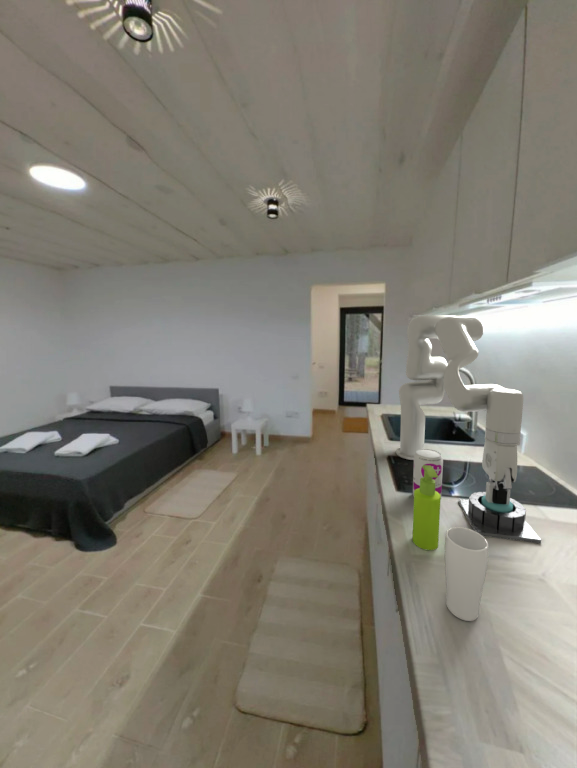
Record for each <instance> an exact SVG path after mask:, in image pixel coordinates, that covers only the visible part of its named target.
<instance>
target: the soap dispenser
mask: <svg viewBox="0 0 577 768" xmlns="http://www.w3.org/2000/svg"><path fill="white" fill-rule="evenodd" d="M422 468H423V469H424V477H423V478H421V479H420V488H418V489H416V490H415V491H414V496H413V513H412V514H413V517H412V518H413V519H412V521H413V522H412V543H413V544H414V546H416V547H418V548H419V549H422V550H426V551H434V550H435V551H436V549H438V547H439V538H440V537H439V536H440V534H439V533H440V515H441V500H442V495H441V496H440V494H439V493H438V492H437V491H435V480H434V479H432V477H433V478H437V477H438V475H437V473H436V472H435V470H434V469H433V468H432V467H431V466H429V465H423V466H422Z"/></svg>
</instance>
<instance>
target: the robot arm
mask: <svg viewBox="0 0 577 768" xmlns="http://www.w3.org/2000/svg"><path fill="white" fill-rule="evenodd" d="M406 330H407V331H406V335H407V342H408V349H407V357H406V358H407V359H406V363H405V364H406V366H405V375H406V377H407V379H409V380H412V381H411V382H409V381H408V382H406V383H402V385H401V386H400V387H399V390H398V395H399V403H400V433H399V435H400V437H399V438H400V439H399V441H400V442H399V443H400V444H399V448H396V451H395V453H396V455H397V456H398V457H399V458H402V459H404V460H405V459H406V460H410V461H414V455H415V453H416V451H417V450H419V449H425V437H426V435H425V433H426V432H425V430H426V414H425V412H424V410H423V409H422V407H421V406H422V405H435V404H439V403H441V402H442V401H443V399H444V396H445V393H446V395H447V398H448V401H449V403H451V405H452V407H453V408H454V409H455V410H457V411H460V412H465V413H466V412H485V411H486V417H485V429H484V432H485V433H484V446H483V453H482V463H481V467H482V469H483V470H484V472H485V474H487V475H488V478H489V479H488V482H495V488H493V495H492V502H493V503H497V504H506V503H507V491H508V489H511V490H512V488H513V487H512V484H515V482H516V481H517V474H518V446H519V445H520V444H521V441H520V440H521V430H522V420H523V410H524V409H523V408H524V393H522V391H520V390H517V389H513V388H506V387H503V386H501V385H499V384H494V383H485V384H479V383H478V384H464V382H463V380H462V377H461V376H460V369H462V368H465V367H467V366H468V365H470V364H472V363H473V362H474V361H475V360H477V358H478V356H479V349H478V348H477V347H476V345H475V343H474V342H476V341H478V340H480V339H481V338H482V337H483V336H484V332H485V326H484V323H483V321H482V320H481V318H479V317H478V316H475V315H465V314H464V315H463V314H462V315H461V314H427V315H419V316H416V317H413V318H412V319H410V321H409V323H408V324H407V328H406ZM430 339H435V340H436V339H437V340H438V342H439V344H440V346H441V348H442V350H443V352H444V355H445V357H443V356H438V355H434V356H433V355H432V352H433V351H432V350H433V345H432V342H431V341H430ZM445 358H447V360H446V359H445ZM447 361H448V362H447ZM499 483H500V484H499Z"/></svg>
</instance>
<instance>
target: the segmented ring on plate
mask: <svg viewBox="0 0 577 768" xmlns="http://www.w3.org/2000/svg"><path fill="white" fill-rule="evenodd" d="M484 495H486V491H478V492H473V493H471V494H470V496H469V498H468V499H464V498H463V499H462V498H458V503H459V505H460V508H461V509H462V511H463V513H464V515H465V517H466V519H467V520H468V522H469V524H470V526H471V528H472V530H473V531H475V532H477V533H479V534H481V535H482V536H483V537H484V538H485V537H487V538H495V539H503V540H510V541H520V542H528V543H534V544H542V539H541V537H540V536H539V535H538V534H537V533H536V531H534V529H533V528H532V526H531V525H530V524H529V523H528V522H527V521H526V515H527V509H526V508H525V507H524V505H522V503H521V502H519V501H517V500H516V499H514V498H512V497H510V502H512V504H513V512H510V513H503V512H497V511H494V510H490V509H488V508H486V507H484V506H483V505H481V504H482V497H483V496H484Z"/></svg>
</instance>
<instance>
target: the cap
mask: <svg viewBox="0 0 577 768" xmlns="http://www.w3.org/2000/svg"><path fill="white" fill-rule="evenodd" d="M485 483H486V485H485V492H486V495H484V496H483V497H482V504H481V505H483V506H484V507H486V508H488V509H490V510H494V511H497V512H503V513H510V512H513V504H512V502H510V498H511V490H512V489H508V491H507V503H506V504H497V503H493V502H492V495H493V488H495V482H489V481H486V482H485ZM499 484H500V483H499Z"/></svg>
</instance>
